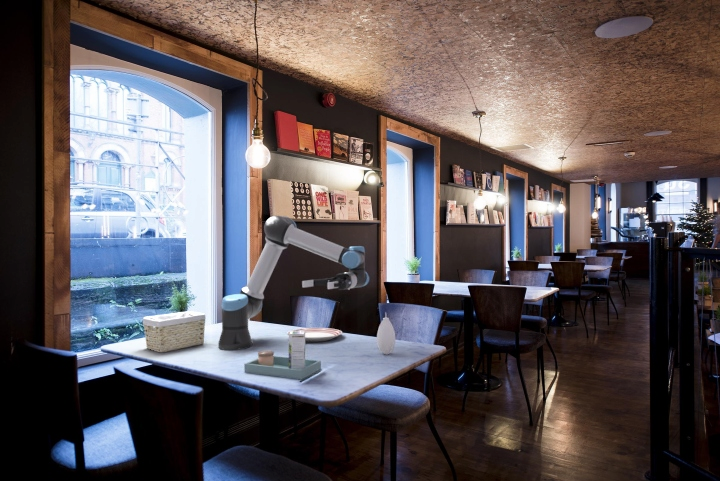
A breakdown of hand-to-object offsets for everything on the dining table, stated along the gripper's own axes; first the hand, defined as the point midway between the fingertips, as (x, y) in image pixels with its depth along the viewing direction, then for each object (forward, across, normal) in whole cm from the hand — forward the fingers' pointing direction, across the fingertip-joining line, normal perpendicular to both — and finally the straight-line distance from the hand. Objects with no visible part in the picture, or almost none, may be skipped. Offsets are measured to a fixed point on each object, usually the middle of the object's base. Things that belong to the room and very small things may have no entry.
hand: (315, 285), depth 197 cm
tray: (+25, -5, -30) cm, 40 cm away
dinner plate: (-29, +25, -30) cm, 49 cm away
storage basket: (+19, +69, -30) cm, 78 cm away
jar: (+26, +2, -29) cm, 39 cm away
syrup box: (+24, -11, -29) cm, 39 cm away
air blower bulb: (-20, -22, -30) cm, 42 cm away
